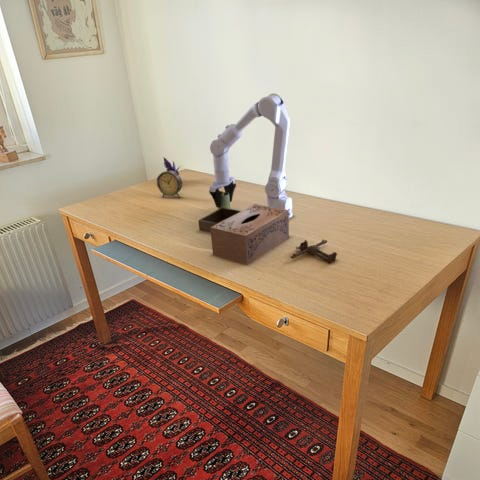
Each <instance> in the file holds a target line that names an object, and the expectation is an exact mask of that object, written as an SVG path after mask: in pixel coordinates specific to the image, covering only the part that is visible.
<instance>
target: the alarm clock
mask: <svg viewBox="0 0 480 480" xmlns="http://www.w3.org/2000/svg"><path fill="white" fill-rule="evenodd" d="M165 162H169V163H170V167H171V166H172V164H171V162H170V161H169V160H168V161H165ZM165 162H164V161H163V166H164V167H165V169H167V170H164V171H162V172H163V173H162V172H160V173H159V174H160V175H159V174H158V175H157V178H158V179H157V178H156V186H157V188H158V190H159V192H160V193H161V194H162V196H161V197H162V198H164V197H165V196H166V197H174V196H177V197H178V198H181V196H180V194H179V193H180V192H181V190H182V188H183V180H182V177H181V176H180V174H179V175H178V174H177V173H176V172H174V171H172V170H169V168H170V167H169V168H168V167H167V168H166V166H165Z"/></svg>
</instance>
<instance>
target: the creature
mask: <svg viewBox="0 0 480 480" xmlns="http://www.w3.org/2000/svg"><path fill="white" fill-rule="evenodd" d="M165 161H169V160H168V159H167V158H166V157H163V163H164V162H165ZM169 162H170V161H169ZM169 162H165V166H164V167H166V168H165V169H166V170H165V171H167V167H168V168H169V167H170V163H171V162H170V163H169ZM180 168H181V166H178V167H177V168H176V164H175V162H174V160H172V165H171V167H170V168H169V170H172V171H174V172H176V173H177V174H178V175H179V176H180V172H179V169H180ZM163 172H164V171H161V173H163ZM161 173H159V174H158V176H159V175H160V174H161ZM157 179H158V177H156V180H157Z"/></svg>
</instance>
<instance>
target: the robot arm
mask: <svg viewBox="0 0 480 480" xmlns="http://www.w3.org/2000/svg"><path fill="white" fill-rule="evenodd" d="M261 117H263V118H265V119H267V120H269V121H270V122H271V123H272V125H273V126H274V135H273V146H272V148H273V149H272V157H271V166H270V172H269V176H268V180H267V183H266V184H265V187H264V192H265V194H266V206H268V207H273V208H278V209H284V210H289V219H290V218H291V217H293V216H294V214H293V199H292V197H290V196H288V195H287V194H286V191H285V190H286V188H287V187H288V180H287V172H286V170H285V169H286V161H287V153H288V143H289V134H290V126H291V118H290V115H289V113H288V111H287V107H286V103H285V100H284V99H283V98H282V96H280V95H279V94H277V93H270V94H268V95H267V96H264V97H261V98H260V99H259V101H257V102H256V103H254V104H253V105H252V106H251V107H250V108H249V109H248V110H247V111H246V112H245V113H244V114H243V116H242V117H240V119H239V120H238V121H237V122H236V123H230V124H227V125H226V126H225V129H224V131H222V132H221V134H220V133H219V134H218V135H217V139H214V140H212V141H211V143H210V145H209V150H210V153H211V154H212V158H213V159H212V160H213V171H214V173H213V174H214V180H213V182H212V183H213V184H212V185H210V186H209V190H208V193H209V194H210V196H211V198H212V199H213V202H214V205H215V207H216V208H217V209H218V208H221V199H222V194H223V192H228V193H229V195H230V203H232V202H233V197H234V192H235V190H236V187H237V184H236V183H235V182H236V180H235V177H233V176H230V171H229V155H228V154H229V153H228V152H229V151H230V148H232V146H234V144H235V143H236V142H237V141H238V140H240V138H241V137H242V134H243V133H242V132H243V131H244V129H246V127H248V126H249V125H250V124H251V123H252V122H253V121H254V120H255V119H256V118H261ZM222 188H223V189H224V191H222V190H220V189H222Z"/></svg>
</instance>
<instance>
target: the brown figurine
mask: <svg viewBox="0 0 480 480" xmlns="http://www.w3.org/2000/svg"><path fill="white" fill-rule="evenodd" d="M327 243H328V240H327V239H324V238H323V239H321V241H320V242H319V243H316V244H313V245H309V242H308V240H306V239H305V240H304V241H303V242H300V244H299V246H296V247H295V249H296V250H299V252H297V253H292V255H291V256H290V259H292V260H293V259H294V260H295V259H296V258H298V257H299V256H301V255H304V254H309V255H311V256H316V257H317V258H320V259H322V260H323V261H325V262H327V263H329V264H330V263H332V262H335V261H336V259H337V255H338V253H337V252H336V251H333V252H332V253H330V254H328V253H327V252H325V251H322V250H320V249H319V247H321V246H322V245H325V244H327Z"/></svg>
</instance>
